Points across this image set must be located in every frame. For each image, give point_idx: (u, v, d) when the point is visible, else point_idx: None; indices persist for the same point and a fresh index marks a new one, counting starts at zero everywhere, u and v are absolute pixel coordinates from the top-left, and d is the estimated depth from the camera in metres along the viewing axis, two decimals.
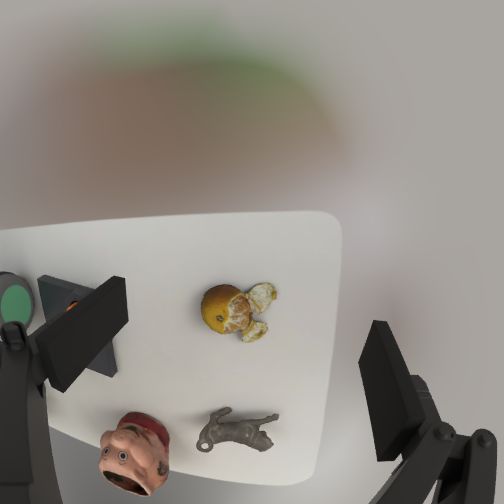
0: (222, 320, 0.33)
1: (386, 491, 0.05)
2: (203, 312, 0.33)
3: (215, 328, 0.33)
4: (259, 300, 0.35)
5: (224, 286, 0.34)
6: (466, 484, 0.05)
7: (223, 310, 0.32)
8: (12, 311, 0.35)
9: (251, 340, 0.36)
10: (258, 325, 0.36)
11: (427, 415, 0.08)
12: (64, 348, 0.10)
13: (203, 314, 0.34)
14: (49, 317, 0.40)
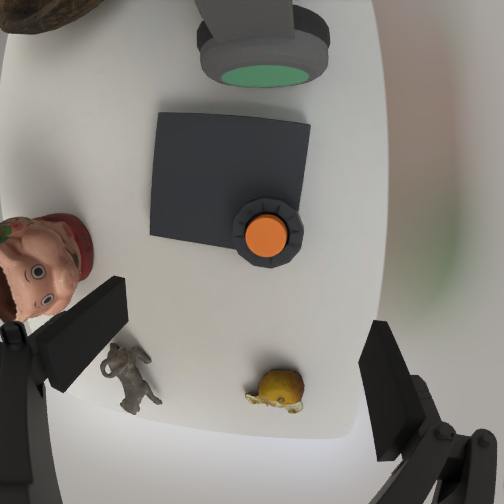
0: (278, 401, 0.33)
1: (386, 491, 0.05)
2: (283, 384, 0.33)
3: (268, 394, 0.34)
4: None
5: None
6: (466, 484, 0.05)
7: (289, 403, 0.33)
8: (259, 73, 0.20)
9: (247, 398, 0.38)
10: (263, 402, 0.38)
11: (427, 415, 0.08)
12: (64, 348, 0.10)
13: (281, 384, 0.33)
14: (236, 128, 0.26)
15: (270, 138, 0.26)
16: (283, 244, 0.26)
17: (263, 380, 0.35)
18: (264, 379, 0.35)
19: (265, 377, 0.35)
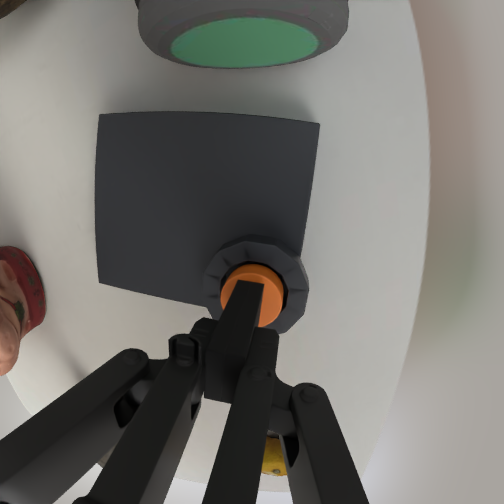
0: (273, 472, 0.24)
1: (221, 443, 0.07)
2: (279, 456, 0.24)
3: None
4: None
5: None
6: (305, 447, 0.07)
7: (286, 473, 0.24)
8: (233, 39, 0.11)
9: None
10: None
11: (261, 361, 0.11)
12: None
13: (277, 456, 0.24)
14: (205, 132, 0.17)
15: (257, 145, 0.17)
16: (277, 311, 0.17)
17: None
18: None
19: None
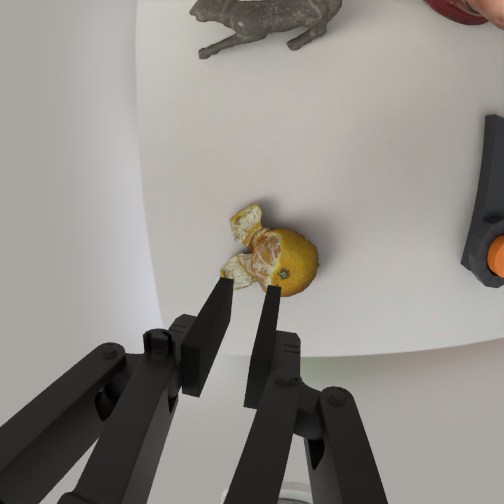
0: (281, 271, 0.23)
1: (245, 447, 0.07)
2: (310, 273, 0.24)
3: (292, 255, 0.23)
4: (240, 269, 0.27)
5: None
6: (331, 450, 0.07)
7: None
8: None
9: (249, 209, 0.25)
10: (240, 234, 0.26)
11: (285, 366, 0.11)
12: (205, 352, 0.12)
13: (310, 271, 0.24)
14: None
15: None
16: (501, 275, 0.19)
17: (301, 237, 0.24)
18: (303, 239, 0.24)
19: (305, 239, 0.25)
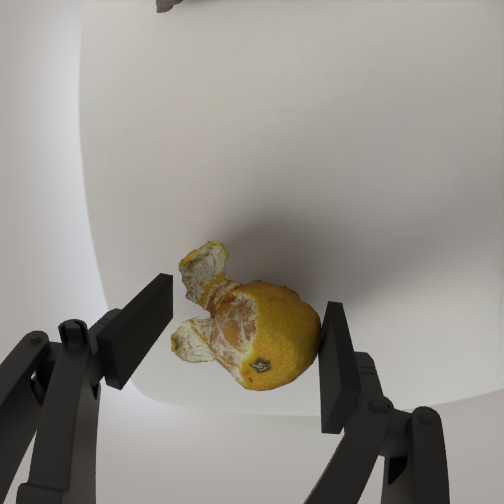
0: (256, 361, 0.13)
1: (328, 468, 0.06)
2: (306, 361, 0.14)
3: (276, 339, 0.13)
4: (198, 338, 0.17)
5: None
6: (413, 465, 0.06)
7: (251, 381, 0.13)
8: None
9: (206, 250, 0.15)
10: (194, 287, 0.16)
11: (368, 389, 0.10)
12: (124, 345, 0.11)
13: (307, 358, 0.13)
14: None
15: None
16: None
17: (294, 301, 0.14)
18: (297, 303, 0.14)
19: (301, 303, 0.14)
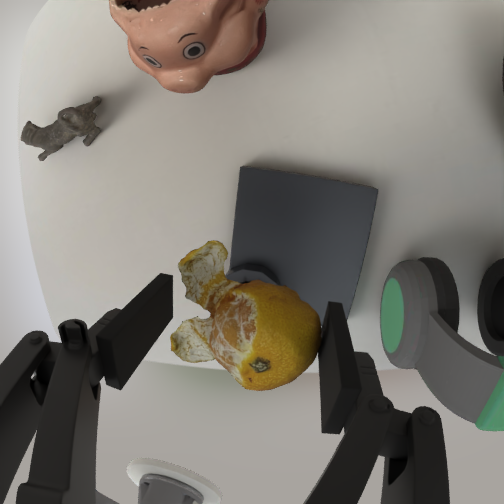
0: (255, 361, 0.13)
1: (328, 468, 0.06)
2: (306, 361, 0.13)
3: (276, 338, 0.13)
4: (198, 338, 0.17)
5: None
6: (413, 465, 0.06)
7: (251, 380, 0.13)
8: (395, 319, 0.24)
9: (205, 249, 0.15)
10: (194, 287, 0.16)
11: (368, 389, 0.10)
12: (124, 345, 0.11)
13: (307, 358, 0.13)
14: (348, 270, 0.29)
15: (335, 298, 0.30)
16: None
17: (294, 300, 0.14)
18: (297, 302, 0.14)
19: (301, 302, 0.14)
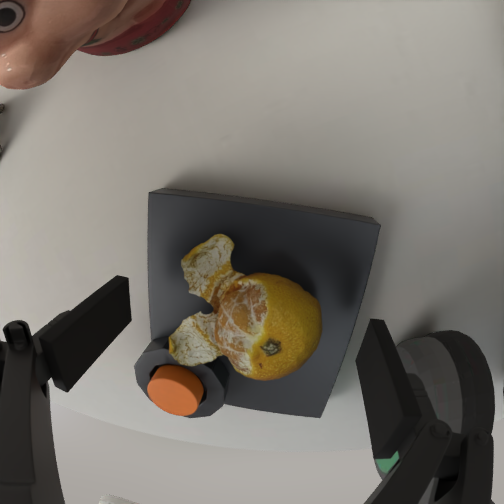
0: (267, 343, 0.13)
1: (382, 489, 0.05)
2: (313, 344, 0.14)
3: (287, 317, 0.13)
4: (199, 337, 0.17)
5: None
6: (463, 483, 0.05)
7: (261, 366, 0.14)
8: None
9: (212, 242, 0.16)
10: (197, 282, 0.16)
11: (423, 413, 0.08)
12: (68, 348, 0.10)
13: (314, 340, 0.14)
14: (326, 349, 0.18)
15: (307, 384, 0.19)
16: (168, 411, 0.18)
17: (296, 286, 0.15)
18: (300, 289, 0.15)
19: (302, 289, 0.15)
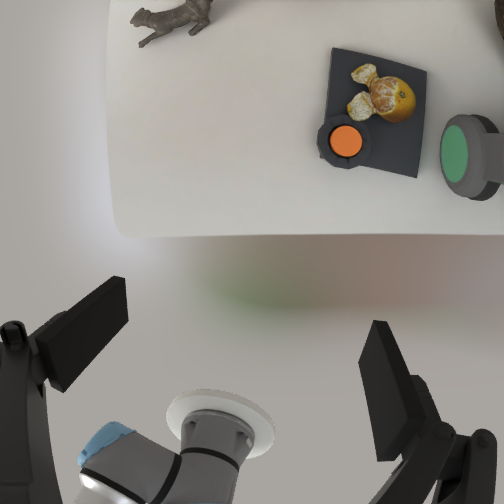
0: (400, 92, 0.27)
1: (386, 491, 0.05)
2: (414, 101, 0.28)
3: (405, 84, 0.27)
4: (362, 104, 0.30)
5: (394, 122, 0.30)
6: (466, 484, 0.05)
7: (399, 102, 0.27)
8: (458, 151, 0.27)
9: (366, 65, 0.29)
10: (361, 80, 0.30)
11: (427, 415, 0.08)
12: (64, 348, 0.10)
13: (414, 99, 0.28)
14: (414, 126, 0.32)
15: (408, 148, 0.33)
16: (342, 154, 0.32)
17: None
18: None
19: None
